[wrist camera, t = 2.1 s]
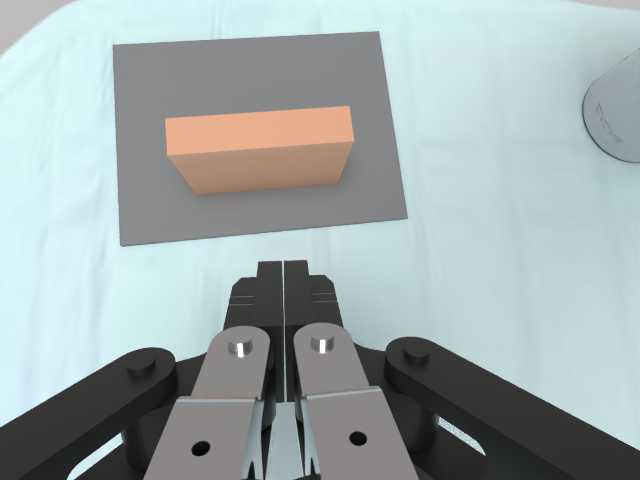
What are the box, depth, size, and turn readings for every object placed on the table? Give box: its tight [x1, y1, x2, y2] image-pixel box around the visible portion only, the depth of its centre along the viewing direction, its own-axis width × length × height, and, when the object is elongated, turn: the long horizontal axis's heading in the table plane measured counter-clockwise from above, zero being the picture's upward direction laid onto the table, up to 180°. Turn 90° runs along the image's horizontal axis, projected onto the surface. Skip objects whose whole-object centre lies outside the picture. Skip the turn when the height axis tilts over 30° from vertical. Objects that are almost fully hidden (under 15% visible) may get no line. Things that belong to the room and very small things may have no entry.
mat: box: [113, 31, 408, 246], centre depth 37 cm, size 24×18×1 cm
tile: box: [165, 106, 354, 196], centre depth 32 cm, size 12×2×9 cm, turn 97°
